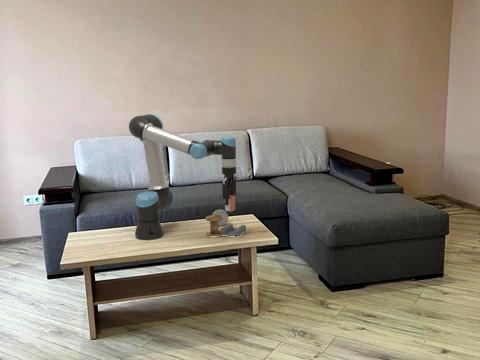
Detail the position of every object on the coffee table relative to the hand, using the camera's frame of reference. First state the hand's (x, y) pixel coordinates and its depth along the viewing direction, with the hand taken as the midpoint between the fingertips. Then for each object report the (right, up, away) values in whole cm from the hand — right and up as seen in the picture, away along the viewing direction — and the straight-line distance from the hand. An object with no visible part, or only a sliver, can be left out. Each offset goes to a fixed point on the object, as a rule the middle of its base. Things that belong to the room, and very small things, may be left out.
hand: (229, 209), depth 267 cm
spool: (-8, -14, +4) cm, 17 cm away
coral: (-6, -10, +24) cm, 27 cm away
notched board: (+2, -14, +5) cm, 15 cm away
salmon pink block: (0, 0, 0) cm, 0 cm away
